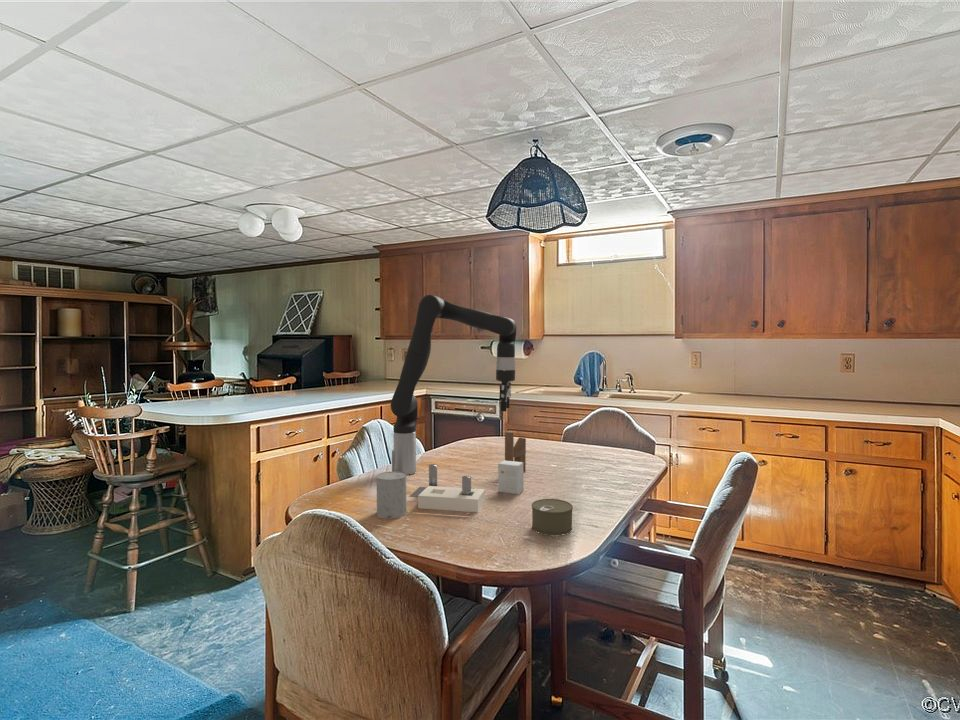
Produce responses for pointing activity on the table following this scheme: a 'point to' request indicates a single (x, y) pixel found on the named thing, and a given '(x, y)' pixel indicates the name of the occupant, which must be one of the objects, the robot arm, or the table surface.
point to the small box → (510, 477)
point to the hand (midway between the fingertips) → (505, 409)
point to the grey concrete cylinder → (391, 495)
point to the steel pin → (432, 475)
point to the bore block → (451, 499)
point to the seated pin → (466, 485)
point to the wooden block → (515, 449)
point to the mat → (417, 492)
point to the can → (552, 516)
